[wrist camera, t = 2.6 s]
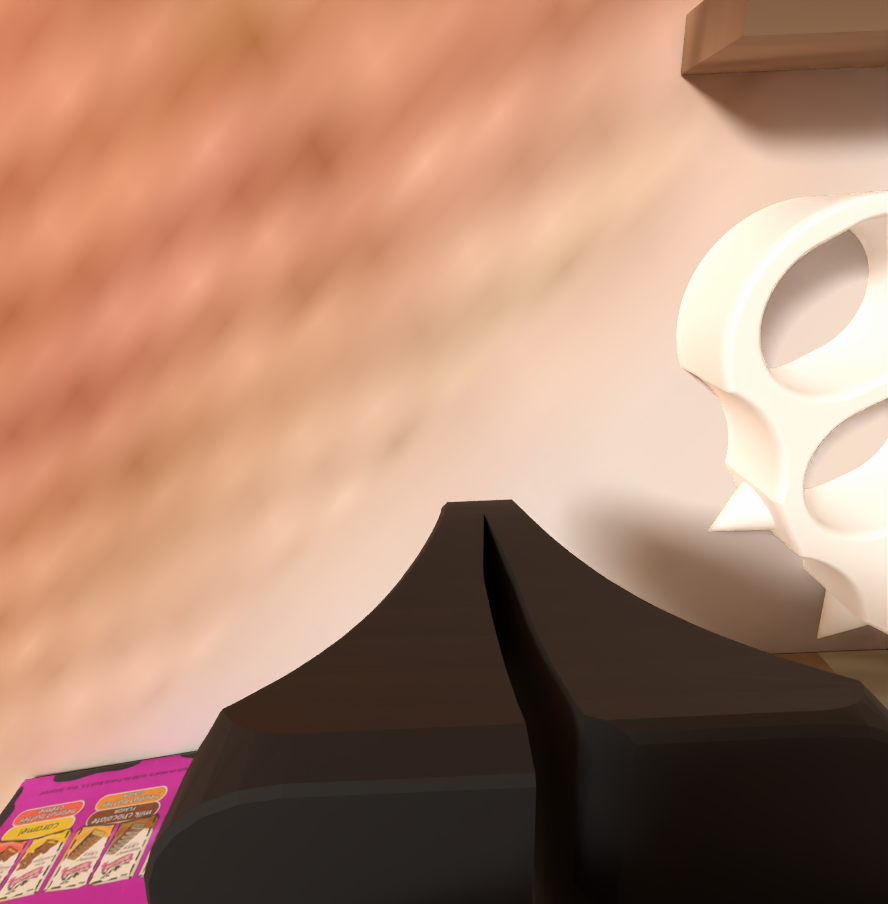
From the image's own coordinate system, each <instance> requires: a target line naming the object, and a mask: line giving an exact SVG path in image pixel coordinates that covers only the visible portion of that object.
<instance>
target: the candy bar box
mask: <svg viewBox="0 0 888 904" xmlns="http://www.w3.org/2000/svg"><path fill="white" fill-rule="evenodd" d="M196 753H197V751H194V752H189V753H183V754H176V755H171V756H165V757H159V758H153V759H147V760H141V761H135V762H129V763H123V764H117V765H111V766H106V767H100V768H94V769H88V770H82V771H76V772H70V773H64V774H58V775H51V776H44V777H38V778H32V779H26V780H24V782H23V783H22V784H21V786H20V787H19V789H18V790H17V792H16V794H15V795H14V796H13V798H12V799H11V801H10V802H9V803H8V805H7V806H6V807H5V809H4V810H3V811H2V813H1V814H0V904H148V902H147V896H146V889H145V883H144V873H145V869H146V865H147V862H148V858H149V854H150V851H151V848H152V846H153V843H154V841H155V839H156V837H157V835H158V832H159V830H160V828H161V826H162V823H163V821H164V819H165V817H166V815H167V812H168V810H169V808H170V806H171V803H172V801H173V799H174V797H175V795H176V792H177V790H178V788H179V786H180V784H181V781H182V779H183V777H184V775H185V773H186V771H187V769H188V767H189V765H190V764H191V762H192V760H193V758H194V756H195V755H196Z"/></svg>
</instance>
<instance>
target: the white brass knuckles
mask: <svg viewBox="0 0 888 904" xmlns="http://www.w3.org/2000/svg"><path fill="white" fill-rule="evenodd" d="M847 230H850V231H852V232H853V233H854V234H855V235H856V236H857V238H858V239H859V240H860V242H861V243H862V245H863V247H864V249H865V252H866V255H867V259H868V265H869V280H868V286H867V291H866V294H865V297H864V300H863V302H862V304H861V307H860V309H859V310H858V312H857V314H856V315H855V317H854V318H853V320H852V321H851V322H850V324H849V325H848V326H847V327H846V328H845V329H844V330H843V331H842V332H841V333H840V334H839V335H838V336H837V337H836V338H835V339H833V340H832V341H830V342H829V343H828V344H826V345H824V346H823V347H821V348H819V349H817V350H815V351H813V352H811V353H809V354H807V355H805V356H803V357H801V358H799V359H797V360H795V361H793V362H791V363H789V364H786V365H783V366H780V367H776V368H771V369H769V368H768V367H767V365H766V362H765V360H764V357H763V354H762V349H761V341H760V333H761V324H762V318H763V314H764V311H765V308H766V305H767V303H768V300H769V298H770V296H771V294H772V292H773V290H774V289H775V287H776V285H777V284H778V282H779V281H780V279H781V278H782V277H783V275H784V274H785V273H786V272H787V271H788V270H789V268H790V267H791V266H792V265H793V264H794V263H796V262H797V261H798V260H799V259H800V258H801V257H803V256H804V255H805V254H806V253H808V252H809V251H811V250H812V249H814V248H816V247H817V246H819V245H821V244H823V243H825V242H827V241H829V240H830V239H832V238H834V237H836V236H838V235H840V234H842V233H843V232H845V231H847ZM677 351H678V357H679V361H680V365H681V367H682V368H684V369H685V370H687V371H689V372H691V373H692V374H694V375H696V376H697V377H699V378H700V379H701V380H702V381H704V382H705V383H706V384H707V385H708V386H709V387H710V388H711V390H712V391H713V392H714V394H715V395H716V396H717V398H718V400H719V402H720V403H721V406H722V408H723V410H724V413H725V416H726V420H727V425H728V435H729V440H728V451H727V456H726V460H725V464H726V466H727V468H728V470H729V472H730V474H731V477H732V479H733V481H734V483H735V485H736V487H737V489H736V491H735V492H734V494H733V495H732V497H731V498H730V499H729V501H728V502H727V504H726V505H725V507H724V508H723V510H722V511H721V513H720V514H719V515H718V517H717V518H716V520H715V521H714V523H713V524H712V526H711V527H710V529H709V530H708V531H707V532H713V531H747V530H770V531H771V532H772V533H773V534H774V535H775V536H777V537H778V538H779V539H780V540H781V541H782V542H783V543H784V544H785V545H787V546H788V547H789V548H790V549H791V550H792V551H793V552H794V553H795V554H797V555H798V556H800V557H803V563H804V569H805V570H806V571H807V572H808V573H809V574H810V575H811V576H812V577H813V578H815V579H816V580H817V581H818V582H819V583H820V584H821V585H822V586H823V587H824V588H825V589H826V592H825V598H824V603H823V609H822V614H821V619H820V625H819V630H818V635H817V639H820V638H823V637H827V636H830V635H834V634H838V633H841V632H845V631H848V630H852V629H855V628H859V627H862V626H866V625H870V626H872V627H874V628H876V629H878V630H880V631H882V632H884V633H886V634H888V439H887V441H886V442H885V444H884V445H883V447H882V448H881V449H880V450H879V451H878V452H877V454H876V455H874V456H873V457H872V458H871V459H870V460H869V461H868V462H866V463H865V464H864V465H862V466H861V467H859V468H857V469H855V470H854V471H851V472H849V473H847V474H845V475H843V476H841V477H839V478H836V479H834V480H832V481H830V482H828V483H826V484H823V485H821V486H818V487H814V488H810V489H804V478H805V473H806V470H807V467H808V464H809V462H810V460H811V458H812V456H813V454H814V452H815V451H816V449H817V448H818V446H819V445H820V443H821V442H822V441H823V440H824V439H825V437H826V436H827V435H828V434H829V433H830V432H831V431H832V430H833V429H834V428H836V427H837V426H838V425H839V424H840V423H842V422H843V421H845V420H846V419H848V418H849V417H851V416H852V415H854V414H856V413H858V412H860V411H862V410H864V409H866V408H868V407H870V406H872V405H874V404H877V403H879V402H881V401H883V400H885V399H887V398H888V191H872V192H860V193H848V194H835V195H823V196H811V197H801V198H795V199H790V200H786V201H782V202H779V203H776V204H773V205H771V206H768V207H766V208H764V209H762V210H760V211H758V212H756V213H754V214H752V215H751V216H749V217H747V218H746V219H744V220H743V221H741V222H740V223H738V224H737V225H736V226H734V227H733V228H732V229H731V230H730V231H728V232H727V233H726V234H725V235H724V236H723V237H722V238H721V239H720V240H719V241H718V242H717V243H716V244H715V245H714V246H713V247H712V248H711V250H710V251H709V252H708V253H707V255H706V256H705V257H704V259H703V260H702V261H701V263H700V264H699V266H698V267H697V269H696V271H695V273H694V274H693V276H692V278H691V280H690V282H689V284H688V287H687V289H686V291H685V294H684V297H683V300H682V303H681V307H680V311H679V316H678V322H677Z"/></svg>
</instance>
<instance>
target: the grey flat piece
mask: <svg viewBox="0 0 888 904" xmlns="http://www.w3.org/2000/svg"><path fill="white" fill-rule="evenodd" d="M880 66H888V0H704V1H703V2H701V3H700V4H699V5H698V6H697V7H696V8H694V9H693V10H692V11H691V12H690V13H688V14H687V17H686V27H685V37H684V48H683V58H682V68H681V74H704V73H729V72H754V71H779V70H805V69H830V68H855V67H880ZM772 655H775V656H778V657H781V658H785V659H788V660H791V661H795V662H798V663H802V664H805V665H808V666H812V667H815V668H819V669H822V670H825V671H829V672H832V673H835V674H839V675H842V676H846V677H849V678H852V679H856V680H859V681H860V682H861V683H862V684H863V685H864V686H865V687H866V688H867V689H869V690H870V691H871V692H872V693H873V694H874V696H875V697H876V698H877V699H878V700H879V701H880V702H881V703H882V704H883V705H884V706H885V707H886V708H887V709H888V650H865V651H840V652H816V653H792V654H772Z"/></svg>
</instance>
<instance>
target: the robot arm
mask: <svg viewBox="0 0 888 904" xmlns="http://www.w3.org/2000/svg"><path fill="white" fill-rule="evenodd" d="M144 883H145V889H146V896H147V902H148V904H888V709H887V708H886V707H885V706H884V705H883V704H882V703H881V702H880V701H879V700H878V699H877V698H876V697H875V696H874V694H873V693H872V692H871V691H870V690H869V689H867V688H866V687H865V686H864V685H863V684H862V683H861V682H860V681H859V680H856V679H852V678H849V677H846V676H842V675H839V674H835V673H832V672H829V671H825V670H822V669H819V668H815V667H812V666H808V665H805V664H802V663H798V662H795V661H791V660H788V659H785V658H781V657H778V656H775V655H772V654H769V653H766V652H763V651H760V650H757V649H755V648H752V647H749V646H747V645H744V644H741V643H738V642H736V641H733V640H730V639H728V638H725V637H722V636H720V635H717V634H715V633H713V632H710V631H708V630H705V629H703V628H700V627H698V626H696V625H693V624H691V623H689V622H687V621H685V620H683V619H681V618H678V617H676V616H674V615H672V614H670V613H668V612H666V611H664V610H662V609H659V608H657V607H655V606H654V605H652V604H650V603H648V602H646V601H644V600H642V599H640V598H638V597H637V596H635V595H633V594H632V593H630V592H628V591H627V590H625V589H623V588H622V587H620V586H618V585H617V584H615V583H613V582H611V581H610V580H608V579H607V578H605V577H604V576H602V575H601V574H599V573H598V572H596V571H595V570H593V569H592V568H591V567H589V566H588V565H586V564H585V563H584V562H582V561H581V560H580V559H578V558H577V557H576V556H574V555H573V554H572V553H570V552H569V551H568V550H567V549H565V548H564V547H563V546H562V545H560V544H559V543H558V542H557V541H556V540H554V539H553V538H552V537H551V536H550V535H549V534H547V533H546V532H545V531H544V530H543V529H542V528H541V527H540V526H539V525H538V524H537V523H536V522H535V521H533V520H532V519H531V518H530V517H529V516H528V515H527V514H526V513H525V512H524V511H523V510H522V509H521V508H520V507H519V506H518V505H517V504H516V503H515V502H514V501H513V500H490V501H467V502H447V503H446V504H445V505H444V506H443V507H442V509H441V513H440V516H439V519H438V521H437V523H436V525H435V527H434V529H433V531H432V533H431V535H430V537H429V538H428V540H427V542H426V543H425V545H424V547H423V548H422V550H421V552H420V553H419V555H418V556H417V558H416V559H415V561H414V562H413V563H412V565H411V566H410V567H409V569H408V570H407V572H406V573H405V574H404V576H403V577H402V578H401V580H400V581H399V582H398V583H397V585H396V586H395V587H394V588H393V589H392V591H391V592H390V593H389V594H388V595H387V596H386V597H385V598H384V599H383V600H382V601H381V603H380V604H379V605H378V606H377V607H376V608H375V609H374V610H373V611H372V612H371V613H370V614H369V615H367V616H366V617H365V618H364V619H363V620H362V621H361V622H360V623H359V624H357V625H356V626H355V627H354V628H353V629H351V630H350V631H349V632H348V633H347V634H346V635H344V636H343V637H342V638H341V639H339V640H338V641H337V642H335V643H334V644H333V645H331V646H330V647H328V648H327V649H326V650H324V651H323V652H321V653H320V654H319V655H317V656H316V657H314V658H313V659H311V660H309V661H308V662H306V663H305V664H303V665H302V666H300V667H299V668H297V669H296V670H294V671H292V672H291V673H289V674H287V675H286V676H284V677H282V678H280V679H279V680H277V681H275V682H273V683H271V684H269V685H268V686H266V687H264V688H262V689H260V690H258V691H257V692H255V693H253V694H251V695H249V696H247V697H245V698H244V699H242V700H240V701H238V702H236V703H234V704H232V705H230V706H228V707H226V708H224V709H223V710H222V711H221V712H220V714H219V715H218V717H217V719H216V721H215V723H214V724H213V726H212V728H211V730H210V731H209V733H208V735H207V736H206V738H205V739H204V741H203V742H202V744H201V746H200V747H199V749H198V751H197V753H196V755H195V756H194V758H193V760H192V762H191V764H190V765H189V767H188V769H187V771H186V773H185V775H184V777H183V779H182V781H181V784H180V786H179V788H178V790H177V792H176V795H175V797H174V799H173V801H172V803H171V806H170V808H169V810H168V812H167V815H166V817H165V819H164V821H163V823H162V826H161V828H160V830H159V832H158V835H157V837H156V839H155V841H154V843H153V846H152V848H151V851H150V854H149V858H148V862H147V865H146V869H145V873H144Z"/></svg>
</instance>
